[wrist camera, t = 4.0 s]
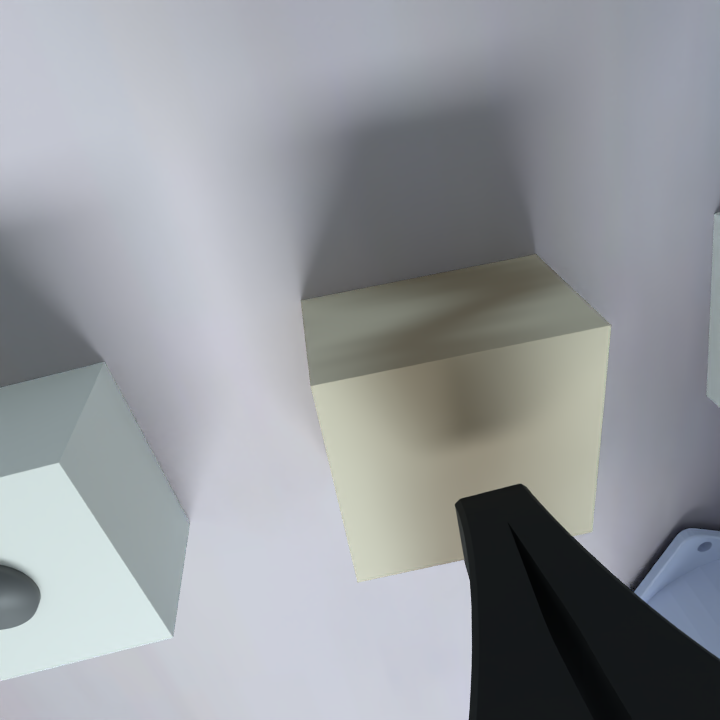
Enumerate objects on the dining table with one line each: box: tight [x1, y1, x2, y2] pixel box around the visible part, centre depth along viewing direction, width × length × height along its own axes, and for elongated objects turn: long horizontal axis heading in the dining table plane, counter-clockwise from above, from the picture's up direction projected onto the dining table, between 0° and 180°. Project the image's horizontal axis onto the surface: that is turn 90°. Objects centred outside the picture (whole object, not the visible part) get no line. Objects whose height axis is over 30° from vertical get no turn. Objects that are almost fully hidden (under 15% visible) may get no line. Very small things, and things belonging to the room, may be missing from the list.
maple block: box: [301, 254, 611, 582], centre depth 15 cm, size 6×6×4 cm
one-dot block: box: [0, 362, 190, 681], centre depth 15 cm, size 6×6×4 cm
